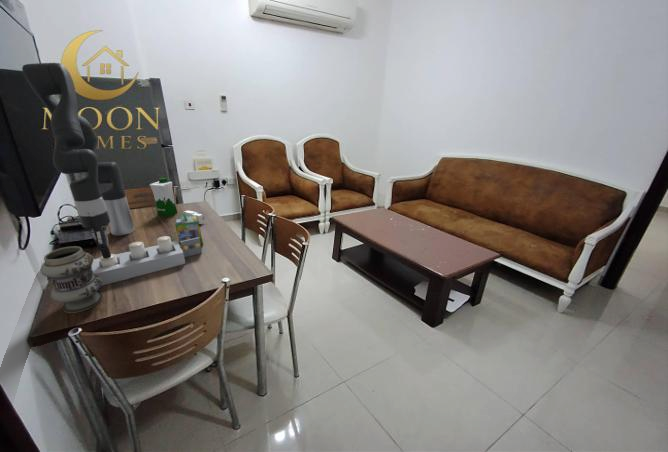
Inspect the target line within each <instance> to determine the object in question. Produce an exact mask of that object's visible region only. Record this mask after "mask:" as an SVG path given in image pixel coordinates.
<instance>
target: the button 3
mask: <svg viewBox="0 0 668 452" xmlns="http://www.w3.org/2000/svg"><path fill="white" fill-rule="evenodd" d="M171 239H172V238H171V237H170V236H168V235H164V236H160V237H157V239H156V243H157V245H158V247H159V251H160V252H161V253H167V252H170V251H172V250H173V247H172V243H171V242H172V240H171Z"/></svg>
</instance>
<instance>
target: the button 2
mask: <svg viewBox="0 0 668 452" xmlns="http://www.w3.org/2000/svg"><path fill="white" fill-rule="evenodd" d="M128 248H129V249H128V250H129V251H130V253H131V256H132V259H141V258H144V257H145V256H146V251H145V248H146V247H145V244H144V242H143V241H134V242H131V243H130V244H128Z"/></svg>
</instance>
